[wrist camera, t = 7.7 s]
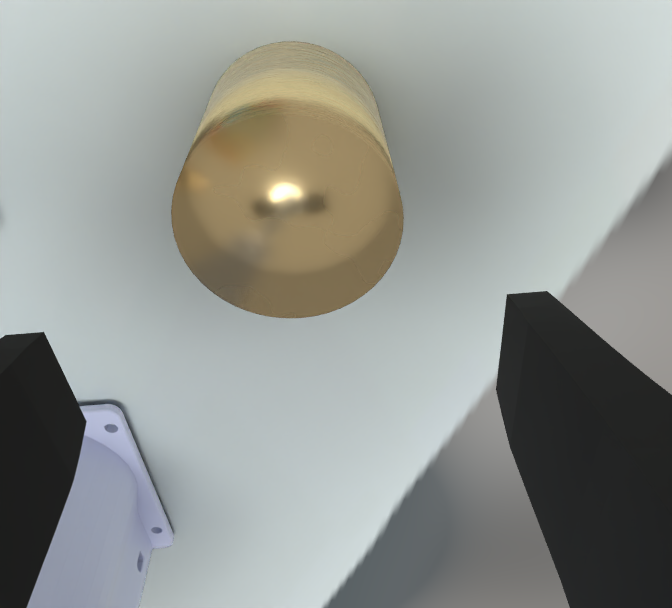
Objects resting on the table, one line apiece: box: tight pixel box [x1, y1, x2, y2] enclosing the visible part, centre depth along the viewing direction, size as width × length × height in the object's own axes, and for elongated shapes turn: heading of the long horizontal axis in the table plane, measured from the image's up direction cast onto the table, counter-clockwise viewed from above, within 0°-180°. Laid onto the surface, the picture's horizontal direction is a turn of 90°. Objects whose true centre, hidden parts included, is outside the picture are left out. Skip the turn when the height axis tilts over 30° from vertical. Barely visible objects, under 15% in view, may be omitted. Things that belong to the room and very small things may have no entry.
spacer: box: [171, 41, 404, 318], centre depth 15 cm, size 5×5×6 cm
